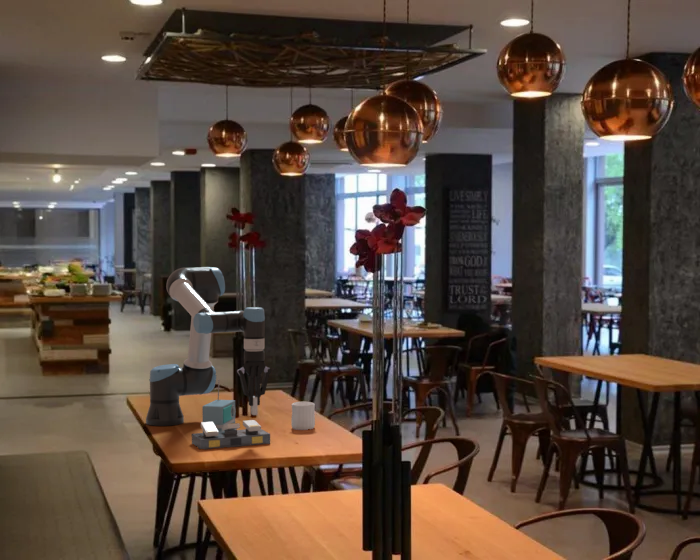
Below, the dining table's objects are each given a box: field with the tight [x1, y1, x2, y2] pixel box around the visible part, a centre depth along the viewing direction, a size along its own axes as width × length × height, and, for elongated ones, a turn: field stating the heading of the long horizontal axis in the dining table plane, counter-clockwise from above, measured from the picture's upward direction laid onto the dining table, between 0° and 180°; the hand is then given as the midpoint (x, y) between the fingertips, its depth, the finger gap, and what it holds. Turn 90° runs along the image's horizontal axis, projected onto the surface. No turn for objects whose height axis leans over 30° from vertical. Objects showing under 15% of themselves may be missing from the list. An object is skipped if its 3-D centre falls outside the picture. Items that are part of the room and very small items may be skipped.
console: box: [191, 428, 271, 450], centre depth 367 cm, size 12×26×5 cm, turn 114°
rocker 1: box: [200, 421, 219, 437], centre depth 364 cm, size 8×4×2 cm, turn 24°
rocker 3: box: [242, 419, 262, 431], centre depth 370 cm, size 8×4×2 cm, turn 24°
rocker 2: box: [222, 422, 241, 431], centre depth 367 cm, size 8×4×2 cm, turn 24°
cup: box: [291, 401, 316, 431], centre depth 397 cm, size 10×10×10 cm
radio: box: [201, 379, 237, 432], centre depth 386 cm, size 16×9×20 cm, turn 169°
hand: (254, 414), depth 367 cm, fingers closed
